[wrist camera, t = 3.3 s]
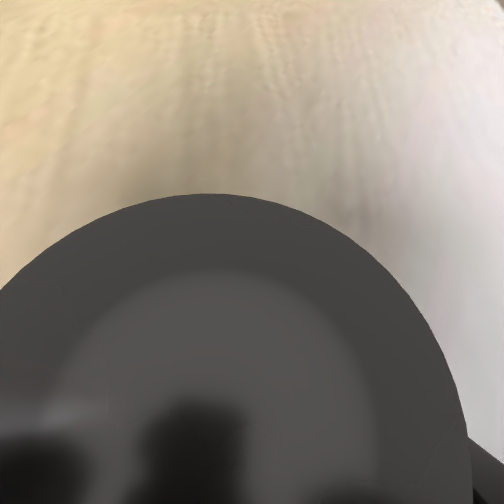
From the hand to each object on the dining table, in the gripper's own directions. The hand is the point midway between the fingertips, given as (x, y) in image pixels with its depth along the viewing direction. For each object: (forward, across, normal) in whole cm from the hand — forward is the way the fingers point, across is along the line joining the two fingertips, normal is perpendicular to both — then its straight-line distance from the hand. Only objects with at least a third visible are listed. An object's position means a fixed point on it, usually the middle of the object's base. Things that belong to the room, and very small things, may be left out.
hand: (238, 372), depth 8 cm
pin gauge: (+4, 0, +6) cm, 7 cm away
